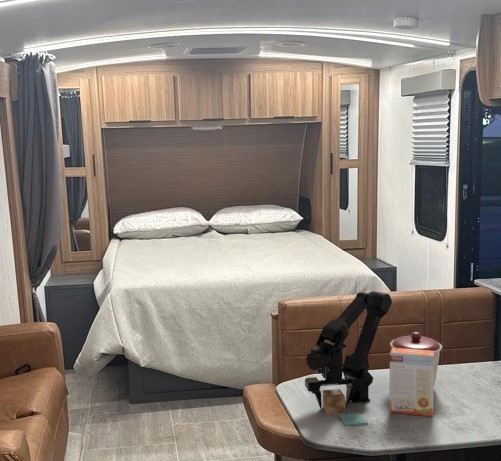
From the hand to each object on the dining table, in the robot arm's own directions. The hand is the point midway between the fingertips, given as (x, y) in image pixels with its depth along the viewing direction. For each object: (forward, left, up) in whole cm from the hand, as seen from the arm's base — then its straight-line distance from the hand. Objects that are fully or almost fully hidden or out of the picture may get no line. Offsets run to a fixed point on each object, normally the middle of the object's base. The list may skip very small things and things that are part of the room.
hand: (333, 406), depth 211 cm
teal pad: (-4, +9, -1) cm, 10 cm away
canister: (-34, -12, -1) cm, 36 cm away
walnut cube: (0, 0, -1) cm, 1 cm away
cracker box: (-25, +6, -1) cm, 26 cm away
